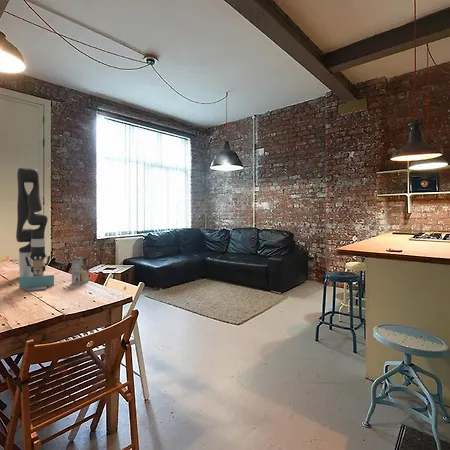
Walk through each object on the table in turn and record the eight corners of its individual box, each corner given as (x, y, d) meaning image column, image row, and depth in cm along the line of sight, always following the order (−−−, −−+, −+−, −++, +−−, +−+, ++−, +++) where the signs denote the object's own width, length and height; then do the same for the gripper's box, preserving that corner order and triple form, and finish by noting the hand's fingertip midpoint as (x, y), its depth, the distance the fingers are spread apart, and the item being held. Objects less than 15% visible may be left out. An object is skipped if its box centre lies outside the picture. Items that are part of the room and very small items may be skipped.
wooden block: (34, 275, 192) (33, 258, 191) (43, 274, 195) (43, 257, 194) (33, 277, 188) (33, 259, 187) (42, 276, 190) (42, 259, 189)
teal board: (19, 288, 180) (19, 277, 180) (54, 285, 189) (54, 274, 188) (19, 288, 179) (19, 277, 179) (54, 285, 188) (54, 275, 187)
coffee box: (80, 280, 203) (80, 256, 202) (89, 280, 202) (89, 256, 201) (71, 283, 194) (71, 258, 193) (80, 284, 193) (80, 259, 192)
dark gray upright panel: (26, 288, 179) (26, 287, 179) (46, 287, 183) (46, 285, 183) (25, 292, 172) (25, 290, 172) (45, 290, 177) (45, 288, 177)
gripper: (51, 244, 197) (51, 270, 198) (25, 245, 190) (25, 271, 191) (50, 246, 190) (51, 272, 191) (23, 246, 183) (24, 274, 184)
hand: (38, 272), depth 191 cm, fingers closed on wooden block, 5 cm apart
